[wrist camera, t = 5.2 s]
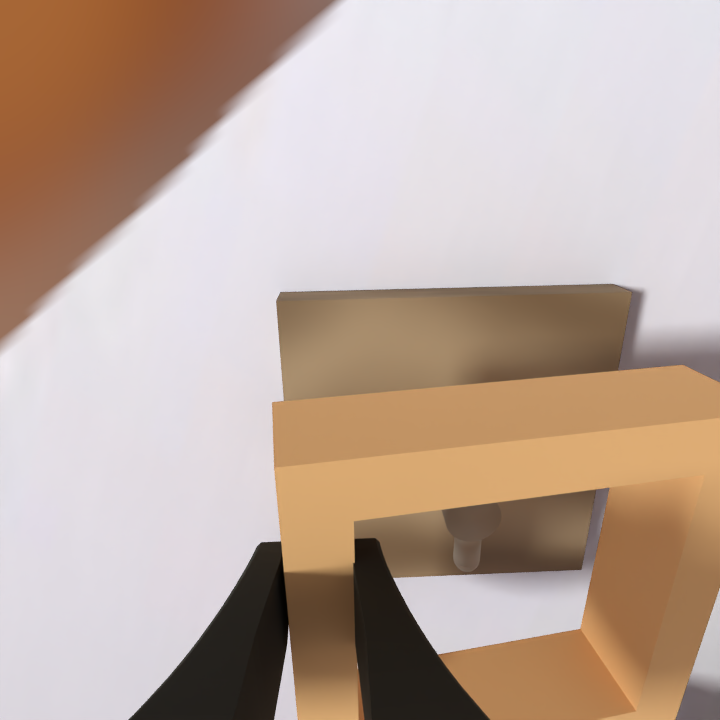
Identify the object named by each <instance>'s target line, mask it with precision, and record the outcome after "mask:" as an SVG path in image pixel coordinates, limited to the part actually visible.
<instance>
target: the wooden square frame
mask: <svg viewBox="0 0 720 720" xmlns="http://www.w3.org/2000/svg"><path fill="white" fill-rule="evenodd" d="M272 411H273V443H274V470H275V481H276V492H277V502H278V513H279V524H280V534H281V545H282V556H283V567H284V577H285V588H286V599H287V609H288V620H289V631H290V641H291V652H292V663H293V674H294V684H295V695H296V706H297V716H298V720H364V712H363V704H362V696H361V688H360V680H359V672H358V669H357V655H356V647H355V617H354V577H353V563H355V550H354V521H360V520H368V519H375V518H383V517H391V516H398V515H406V514H413V513H421V512H428V511H436V510H444V509H451V508H459V507H466V506H474V505H481V504H489V503H497V502H504V501H512V500H519V499H527V498H534V497H542V496H550V495H557V494H565V493H572V492H580V491H587V490H595V489H603V488H610V489H609V494H608V499H607V504H606V509H605V513H604V518H603V523H602V528H601V533H600V537H599V542H598V547H597V552H596V557H595V562H594V566H593V571H592V576H591V581H590V586H589V590H588V595H587V600H586V605H585V610H584V615H583V619H582V624H581V629H578V630H572V631H567V632H561V633H556V634H550V635H544V636H539V637H533V638H528V639H522V640H517V641H511V642H506V643H500V644H494V645H489V646H483V647H478V648H472V649H467V650H461V651H455V652H450V653H444V654H439V655H438V656H439V657H440V658H441V660H442V661H443V663H444V664H445V665H446V667H447V668H448V669H449V671H450V672H451V673H452V675H453V676H454V677H455V679H456V680H457V681H458V682H459V684H460V685H461V686H462V687H463V689H464V690H465V691H466V692H467V693H468V694H469V695H470V697H471V698H472V699H473V700H474V701H475V702H476V704H477V705H478V706H479V707H480V708H481V709H482V711H483V712H484V713H485V714H486V715H487V716H488V718H489V719H490V720H675V719H676V716H677V713H678V710H679V707H680V704H681V701H682V698H683V695H684V692H685V689H686V686H687V683H688V680H689V677H690V674H691V671H692V668H693V665H694V663H695V660H696V657H697V654H698V651H699V648H700V645H701V642H702V639H703V636H704V633H705V630H706V627H707V624H708V621H709V618H710V615H711V612H712V609H713V606H714V603H715V600H716V597H717V594H718V591H719V588H720V382H718V381H715V380H713V379H711V378H709V377H707V376H705V375H703V374H701V373H699V372H697V371H695V370H693V369H691V368H689V367H687V366H684V365H675V366H664V367H653V368H642V369H631V370H620V371H609V372H598V373H587V374H576V375H566V376H555V377H544V378H533V379H522V380H511V381H500V382H489V383H478V384H467V385H456V386H445V387H434V388H423V389H412V390H401V391H390V392H379V393H368V394H357V395H346V396H335V397H324V398H314V399H303V400H292V401H281V402H272Z"/></svg>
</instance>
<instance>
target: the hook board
mask: <svg viewBox="0 0 720 720" xmlns="http://www.w3.org/2000/svg"><path fill="white" fill-rule="evenodd" d="M631 296H632V292H631V291H628V290H626V289H623V288H621V287H619V286H616V285H614V284H594V285H553V286H513V287H473V288H432V289H392V290H351V291H311V292H280V294H279V296H278V298H277V301H276V305H277V317H278V330H279V343H280V356H281V369H282V381H283V394H284V401H292V400H303V399H314V398H324V397H335V396H346V395H357V394H368V393H379V392H390V391H401V390H412V389H423V388H434V387H445V386H456V385H467V384H478V383H489V382H500V381H511V380H522V379H533V378H544V377H555V376H566V375H576V374H587V373H598V372H609V371H618V367H619V361H620V356H621V350H622V345H623V339H624V334H625V329H626V323H627V318H628V312H629V307H630V301H631ZM595 493H596V489H595V490H587V491H580V492H572V493H565V494H557V495H550V496H542V497H534V498H527V499H519V500H512V501H504V502H497V503H489V504H481V505H474V506H466V507H459V508H451V509H444V510H436V511H428V512H421V513H413V514H406V515H398V516H391V517H383V518H375V519H368V520H360V521H354V539H359V538H376V539H377V540H378V541H379V542H380V546H381V549H382V552H383V555H384V558H385V561H386V563H387V566H388V568H389V570H390V573H391V575H392V577H393V578H399V577H422V576H445V575H469V574H492V573H516V572H539V571H563V570H581V569H582V564H583V558H584V553H585V547H586V542H587V537H588V531H589V526H590V520H591V515H592V509H593V504H594V498H595Z"/></svg>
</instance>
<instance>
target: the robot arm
mask: <svg viewBox="0 0 720 720" xmlns="http://www.w3.org/2000/svg"><path fill="white" fill-rule="evenodd" d="M354 550H355V563H353V577H354V617H355V647H356V655H357V663H358V672H359V680H360V688H361V696H362V704H363V712H364V720H490V719H489V718H488V716H487V715H486V714H485V713H484V712H483V711H482V709H481V708H480V707H479V706H478V705H477V704H476V702H475V701H474V700H473V699H472V698H471V697H470V695H469V694H468V693H467V692H466V691H465V690H464V689H463V687H462V686H461V685H460V684H459V682H458V681H457V680H456V679H455V677H454V676H453V675H452V673H451V672H450V671H449V669H448V668H447V667H446V665H445V664H444V663H443V661H442V660H441V658H440V657H439V656H438V654H437V653H436V651H435V650H434V649H433V647H432V646H431V644H430V643H429V641H428V640H427V638H426V637H425V635H424V633H423V632H422V630H421V629H420V627H419V625H418V624H417V622H416V620H415V619H414V617H413V615H412V614H411V612H410V610H409V608H408V607H407V605H406V603H405V601H404V599H403V597H402V595H401V593H400V591H399V589H398V588H397V586H396V583H395V581H394V579H393V577H392V575H391V573H390V570H389V568H388V566H387V563H386V561H385V558H384V555H383V552H382V549H381V546H380V542H379V541H378V540H377V539H376V538H359V539H354ZM288 627H289V620H288V609H287V599H286V588H285V577H284V567H283V556H282V545H281V542H261V543H260V544H259V545H258V546H257V548H256V550H255V552H254V554H253V556H252V558H251V560H250V561H249V563H248V565H247V567H246V569H245V570H244V572H243V574H242V576H241V577H240V579H239V581H238V582H237V584H236V586H235V587H234V589H233V590H232V592H231V594H230V595H229V597H228V598H227V600H226V601H225V603H224V605H223V606H222V608H221V609H220V611H219V612H218V614H217V615H216V616H215V618H214V619H213V621H212V622H211V623H210V625H209V626H208V628H207V629H206V630H205V632H204V633H203V634H202V636H201V637H200V639H199V640H198V641H197V643H196V644H195V645H194V647H193V648H192V649H191V650H190V652H189V653H188V654H187V655H186V657H185V658H184V659H183V660H182V662H181V663H180V664H179V665H178V666H177V668H176V669H175V670H174V671H173V672H172V674H171V675H170V676H169V677H168V678H167V679H166V680H165V681H164V683H163V684H162V685H161V686H160V687H159V688H158V689H157V690H156V691H155V692H154V694H153V695H152V696H151V697H150V698H149V699H148V700H147V701H146V702H145V703H144V704H143V705H142V706H141V708H140V709H139V710H138V711H137V712H136V713H135V714H134V715H133V716H132V717H131V718H130V719H129V720H274V716H275V710H276V705H277V699H278V693H279V688H280V682H281V676H282V671H283V665H284V659H285V653H286V647H287V640H288Z"/></svg>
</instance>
